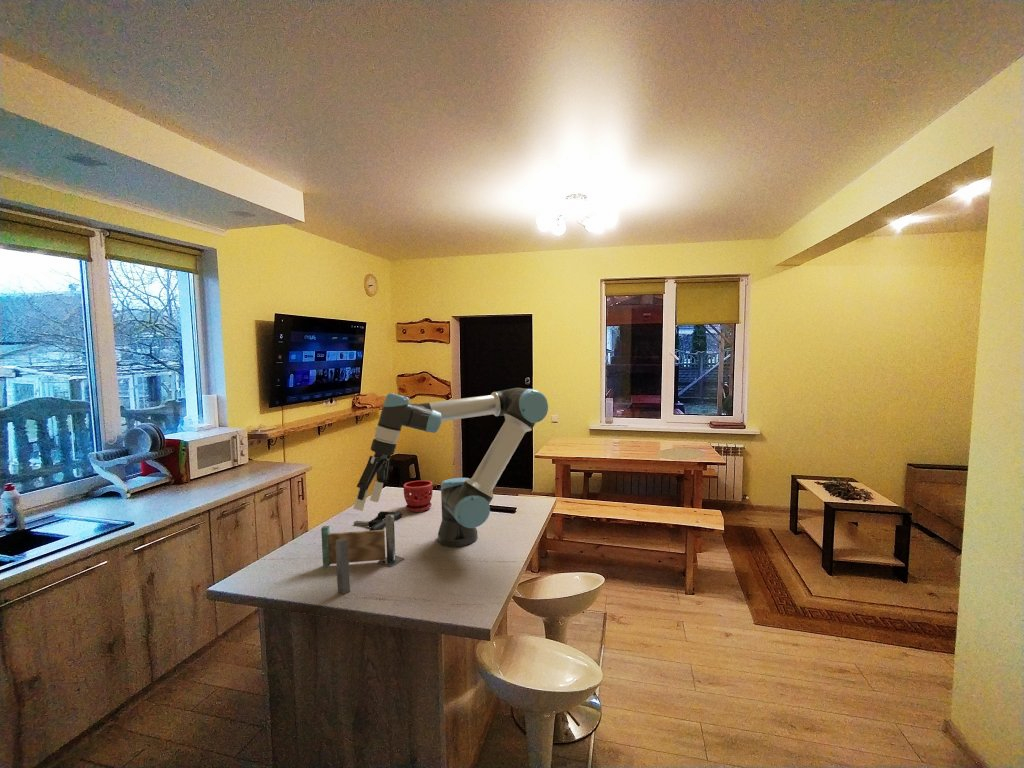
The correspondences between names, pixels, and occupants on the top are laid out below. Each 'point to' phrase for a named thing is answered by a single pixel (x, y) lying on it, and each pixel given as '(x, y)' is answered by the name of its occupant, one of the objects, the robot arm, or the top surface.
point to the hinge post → (390, 543)
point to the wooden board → (354, 545)
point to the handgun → (379, 520)
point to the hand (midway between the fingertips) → (366, 505)
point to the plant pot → (418, 495)
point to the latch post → (342, 566)
